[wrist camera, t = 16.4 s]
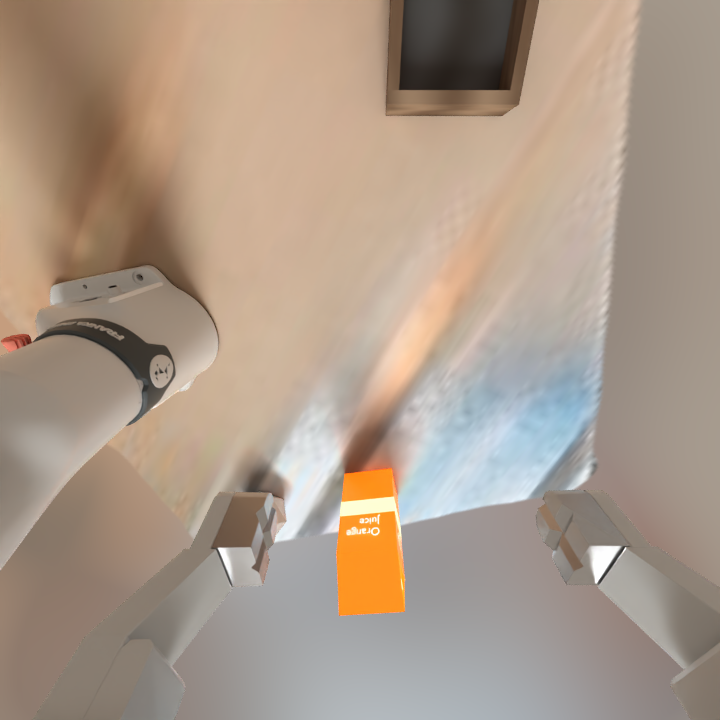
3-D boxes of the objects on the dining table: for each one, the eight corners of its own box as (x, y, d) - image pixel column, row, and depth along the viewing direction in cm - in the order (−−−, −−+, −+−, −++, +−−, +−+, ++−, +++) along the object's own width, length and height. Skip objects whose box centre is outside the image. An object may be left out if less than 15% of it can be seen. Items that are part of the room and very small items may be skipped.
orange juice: (397, 496, 58) (409, 626, 40) (352, 501, 59) (344, 629, 41) (391, 467, 54) (401, 594, 37) (343, 473, 55) (330, 599, 38)
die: (273, 475, 57) (226, 512, 51) (302, 512, 55) (257, 555, 49) (266, 487, 63) (223, 522, 57) (292, 521, 61) (251, 561, 55)
